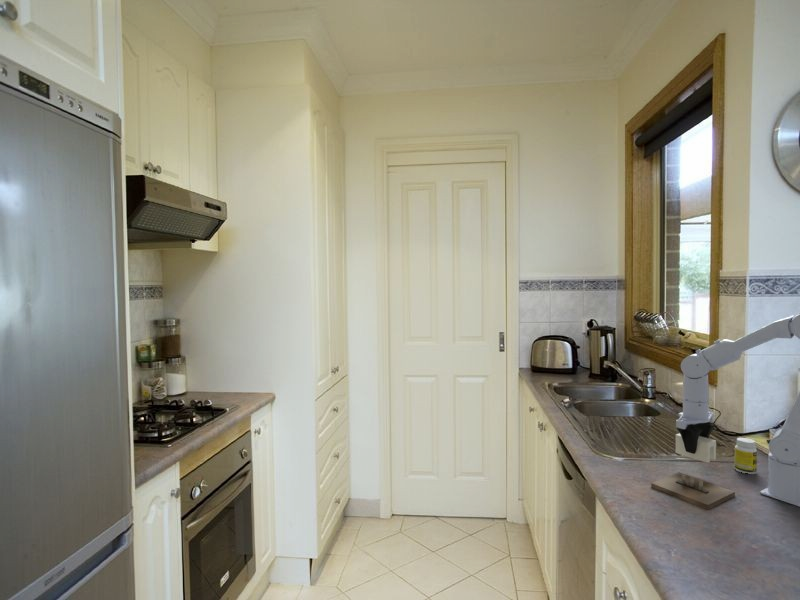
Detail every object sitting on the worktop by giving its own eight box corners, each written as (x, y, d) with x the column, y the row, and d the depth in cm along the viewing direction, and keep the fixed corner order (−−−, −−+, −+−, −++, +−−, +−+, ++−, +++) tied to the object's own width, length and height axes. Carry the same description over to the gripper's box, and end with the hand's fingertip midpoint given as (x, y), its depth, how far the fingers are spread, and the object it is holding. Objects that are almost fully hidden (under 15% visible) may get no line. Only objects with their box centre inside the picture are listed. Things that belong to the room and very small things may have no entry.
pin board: (734, 495, 107) (734, 482, 107) (707, 509, 101) (707, 495, 101) (678, 475, 118) (678, 463, 118) (651, 486, 112) (651, 474, 112)
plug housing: (715, 459, 117) (716, 440, 117) (707, 462, 115) (707, 443, 115) (683, 449, 124) (683, 431, 124) (675, 452, 122) (675, 434, 122)
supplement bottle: (756, 476, 117) (757, 444, 117) (734, 471, 120) (734, 440, 120) (756, 469, 121) (756, 439, 121) (734, 465, 124) (734, 435, 124)
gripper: (694, 392, 126) (694, 440, 126) (664, 400, 119) (664, 451, 119) (722, 398, 120) (722, 448, 120) (692, 406, 112) (692, 460, 113)
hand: (695, 450), depth 119 cm, fingers closed on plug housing, 4 cm apart
